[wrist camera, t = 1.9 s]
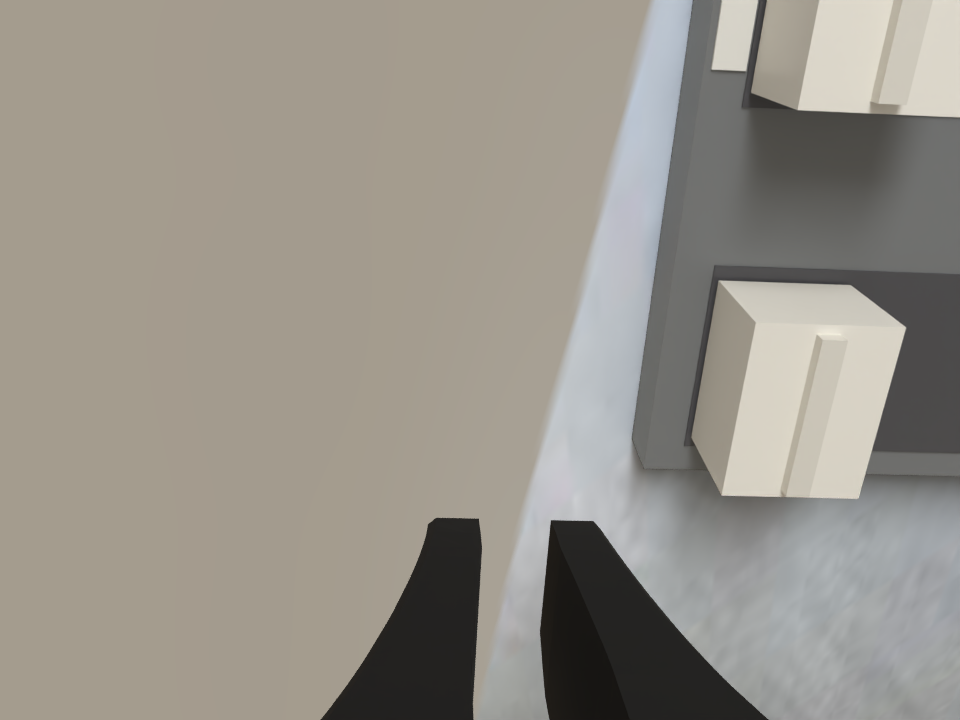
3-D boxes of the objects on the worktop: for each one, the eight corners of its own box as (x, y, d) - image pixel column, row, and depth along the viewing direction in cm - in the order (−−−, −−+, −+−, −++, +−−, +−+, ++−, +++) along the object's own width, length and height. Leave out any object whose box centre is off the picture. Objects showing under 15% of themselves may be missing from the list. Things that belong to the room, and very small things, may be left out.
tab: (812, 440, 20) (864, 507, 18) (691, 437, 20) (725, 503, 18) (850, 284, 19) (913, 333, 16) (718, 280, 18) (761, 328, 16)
